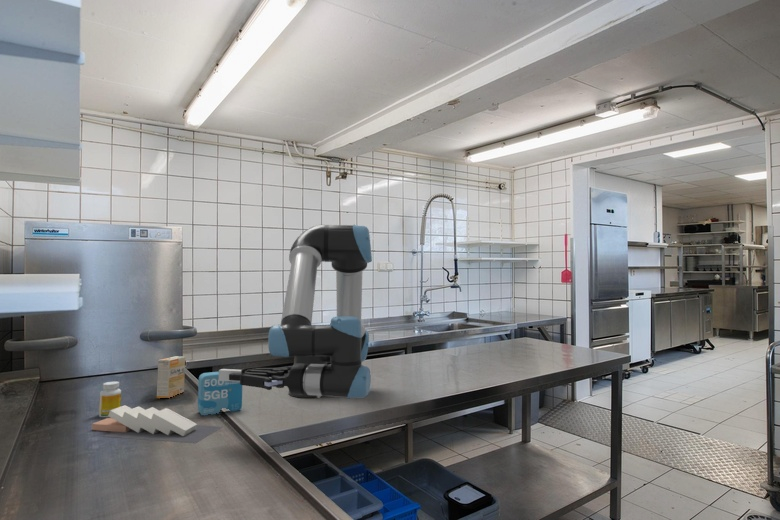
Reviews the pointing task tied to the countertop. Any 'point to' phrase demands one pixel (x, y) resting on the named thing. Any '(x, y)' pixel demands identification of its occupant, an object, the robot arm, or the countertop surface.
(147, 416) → the domino
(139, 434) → the mat
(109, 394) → the supplement bottle
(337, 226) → the robot arm
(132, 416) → the domino
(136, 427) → the domino
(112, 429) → the domino
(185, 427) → the domino
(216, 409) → the data package
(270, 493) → the countertop surface
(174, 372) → the supplement box
